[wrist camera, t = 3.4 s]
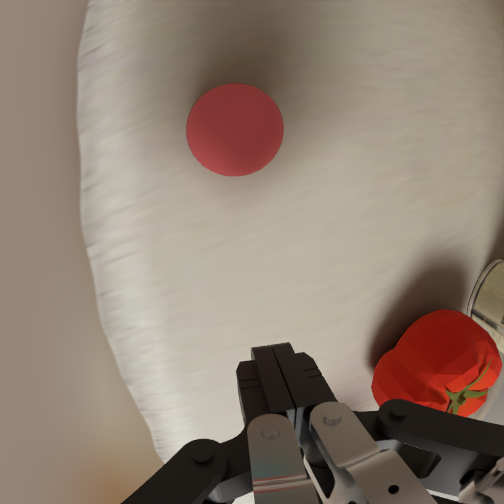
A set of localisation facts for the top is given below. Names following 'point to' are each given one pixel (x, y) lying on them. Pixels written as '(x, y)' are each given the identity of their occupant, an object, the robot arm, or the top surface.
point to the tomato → (440, 364)
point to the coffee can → (490, 302)
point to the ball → (234, 129)
